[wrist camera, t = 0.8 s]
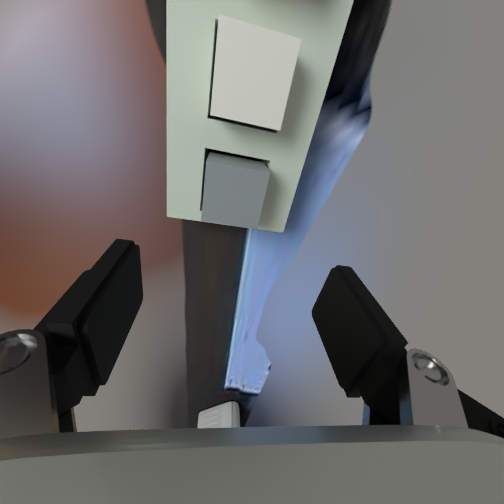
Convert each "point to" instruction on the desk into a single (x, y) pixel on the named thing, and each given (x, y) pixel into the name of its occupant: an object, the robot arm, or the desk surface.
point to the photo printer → (220, 416)
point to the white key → (252, 73)
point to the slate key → (234, 190)
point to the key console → (235, 133)
